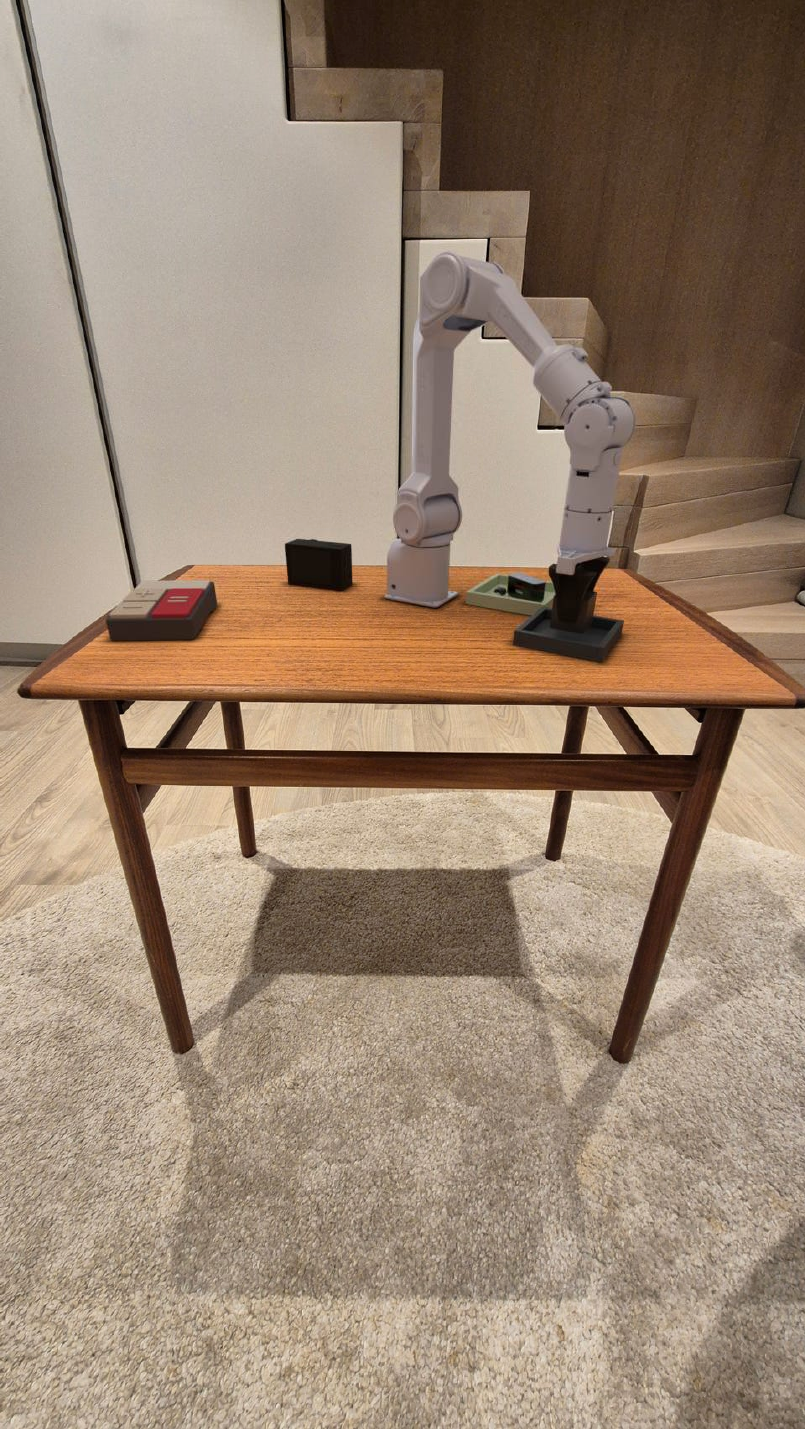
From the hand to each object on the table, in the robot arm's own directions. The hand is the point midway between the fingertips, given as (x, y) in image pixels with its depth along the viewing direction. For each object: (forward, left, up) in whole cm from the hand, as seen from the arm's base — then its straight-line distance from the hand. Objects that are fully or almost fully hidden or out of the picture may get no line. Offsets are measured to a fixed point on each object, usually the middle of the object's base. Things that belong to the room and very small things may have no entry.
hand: (572, 616), depth 79 cm
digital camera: (-44, +4, -3) cm, 44 cm away
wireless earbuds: (-12, +13, -3) cm, 17 cm away
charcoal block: (0, 0, -1) cm, 1 cm away
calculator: (-51, -23, -3) cm, 56 cm away
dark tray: (0, 0, -3) cm, 3 cm away
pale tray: (-12, +13, -3) cm, 18 cm away
